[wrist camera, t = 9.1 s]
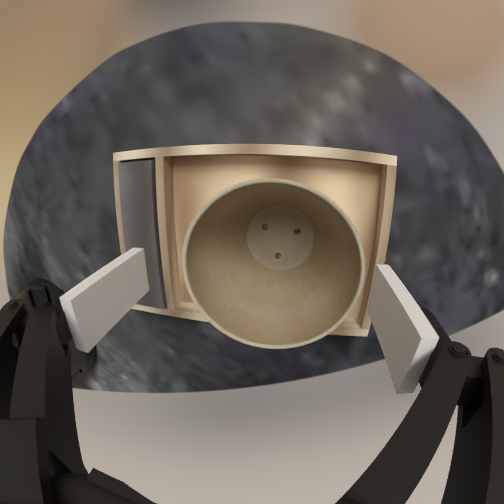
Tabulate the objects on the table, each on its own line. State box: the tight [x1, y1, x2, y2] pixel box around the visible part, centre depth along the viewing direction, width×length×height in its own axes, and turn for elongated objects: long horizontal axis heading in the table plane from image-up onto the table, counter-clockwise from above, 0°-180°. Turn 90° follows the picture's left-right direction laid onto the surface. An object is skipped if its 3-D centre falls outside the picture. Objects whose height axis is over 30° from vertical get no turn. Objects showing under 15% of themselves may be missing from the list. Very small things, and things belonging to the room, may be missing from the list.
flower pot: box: [181, 178, 365, 349], centre depth 18 cm, size 10×10×7 cm
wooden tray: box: [113, 144, 397, 336], centre depth 21 cm, size 22×15×3 cm
